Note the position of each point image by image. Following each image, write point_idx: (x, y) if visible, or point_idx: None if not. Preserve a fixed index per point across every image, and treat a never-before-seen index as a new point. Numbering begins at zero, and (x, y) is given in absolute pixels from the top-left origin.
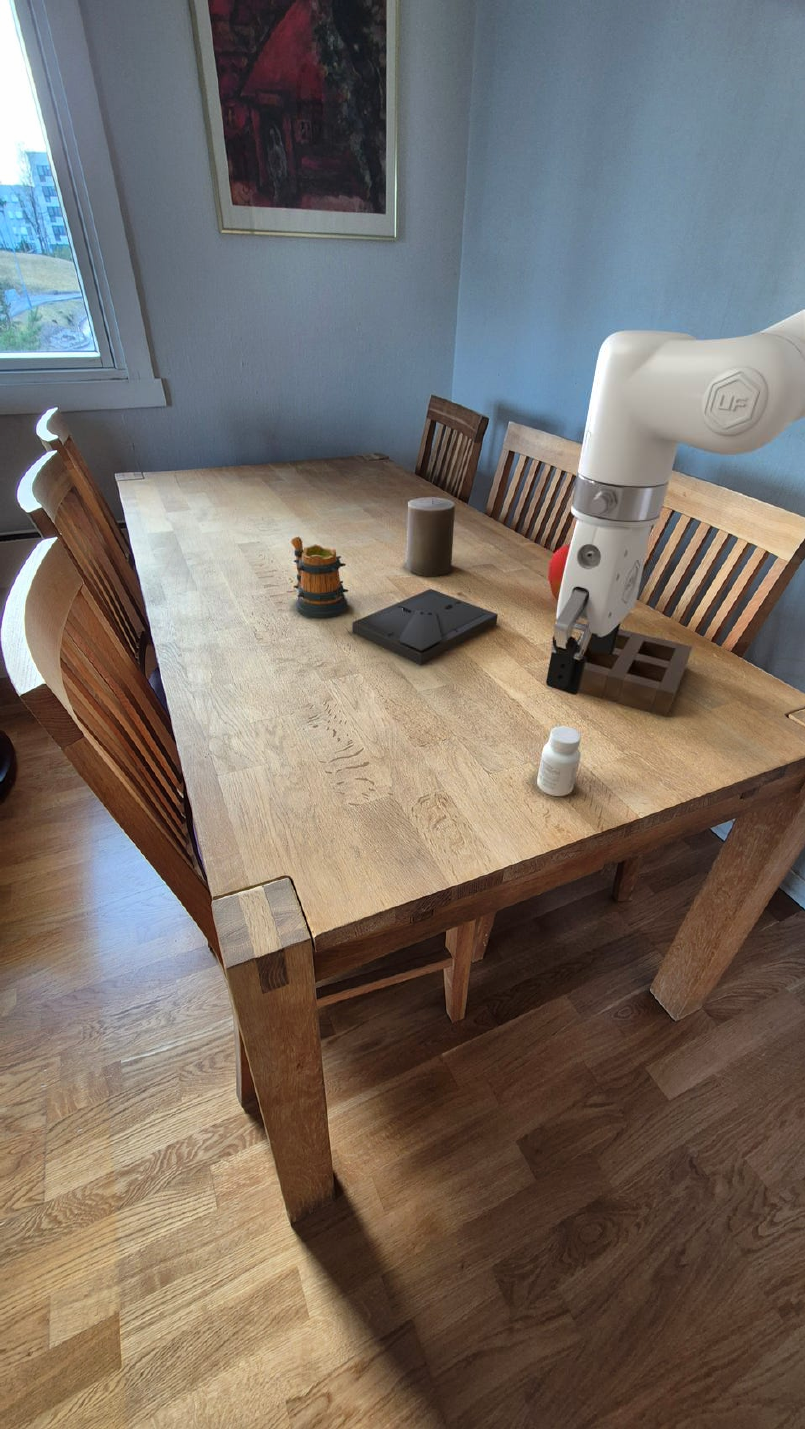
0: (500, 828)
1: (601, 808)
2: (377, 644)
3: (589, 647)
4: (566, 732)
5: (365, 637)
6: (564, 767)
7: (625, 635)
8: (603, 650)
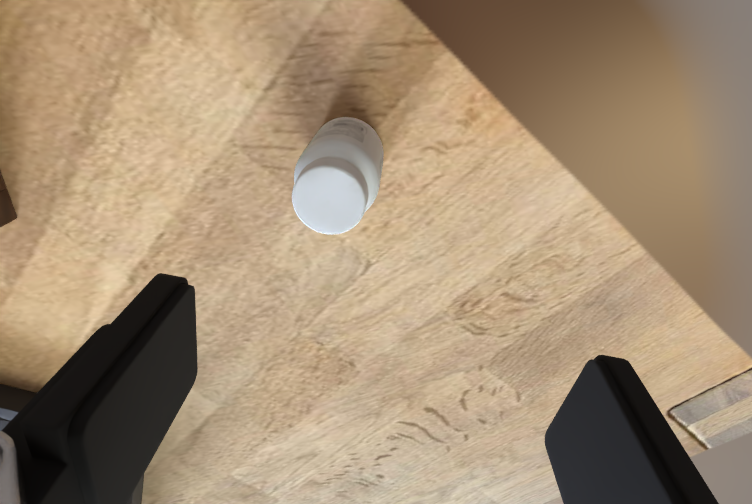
0: (503, 213)
1: (374, 45)
2: (142, 480)
3: (194, 363)
4: (318, 201)
5: (140, 497)
6: (376, 163)
7: None
8: (187, 317)
